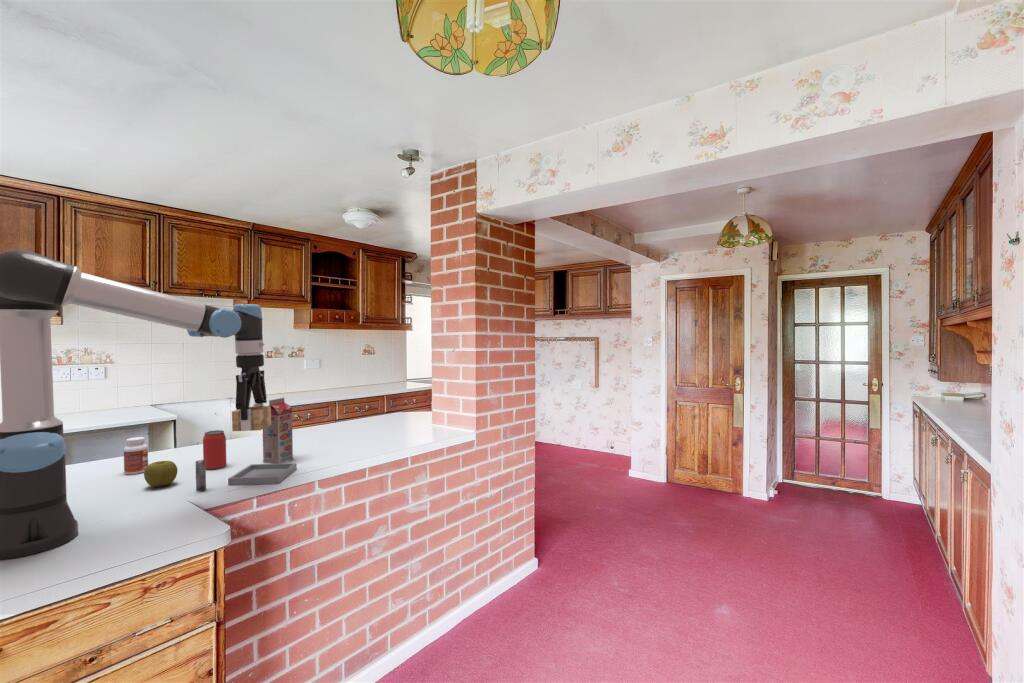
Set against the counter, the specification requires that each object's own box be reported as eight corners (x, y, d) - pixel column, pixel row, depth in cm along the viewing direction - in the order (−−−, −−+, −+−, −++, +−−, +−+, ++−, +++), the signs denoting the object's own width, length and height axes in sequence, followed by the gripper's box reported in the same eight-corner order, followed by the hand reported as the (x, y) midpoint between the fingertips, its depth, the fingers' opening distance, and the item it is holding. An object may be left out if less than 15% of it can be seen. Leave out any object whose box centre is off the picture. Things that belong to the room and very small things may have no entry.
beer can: (199, 468, 157) (198, 433, 157) (219, 463, 163) (218, 429, 163) (210, 471, 154) (209, 435, 154) (230, 466, 160) (229, 431, 160)
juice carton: (263, 462, 164) (261, 400, 163) (277, 457, 170) (276, 397, 170) (278, 464, 162) (277, 400, 161) (292, 459, 168) (291, 398, 168)
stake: (203, 491, 135) (202, 462, 135) (194, 491, 135) (193, 462, 135) (207, 488, 138) (207, 459, 138) (199, 488, 138) (198, 460, 137)
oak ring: (260, 430, 142) (259, 410, 142) (232, 431, 142) (231, 411, 141) (271, 424, 150) (270, 405, 150) (245, 425, 150) (244, 406, 149)
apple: (143, 485, 141) (143, 462, 140) (176, 479, 146) (176, 457, 146) (145, 492, 135) (144, 467, 135) (179, 486, 140) (178, 462, 140)
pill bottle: (147, 472, 153) (146, 439, 152) (123, 476, 149) (122, 441, 149) (149, 468, 158) (148, 435, 158) (125, 471, 155) (124, 437, 154)
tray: (278, 483, 142) (278, 477, 142) (228, 485, 141) (228, 478, 141) (296, 469, 157) (296, 463, 156) (250, 470, 155) (250, 464, 155)
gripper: (246, 356, 135) (249, 434, 136) (276, 351, 156) (279, 419, 157) (219, 357, 134) (222, 435, 135) (252, 352, 155) (255, 420, 156)
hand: (253, 427), depth 146 cm, fingers closed on oak ring, 8 cm apart
